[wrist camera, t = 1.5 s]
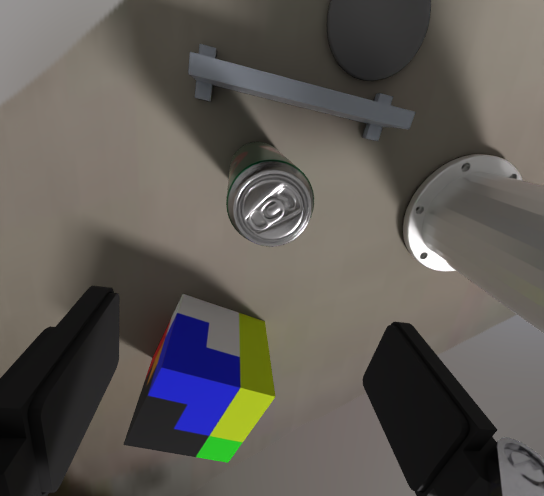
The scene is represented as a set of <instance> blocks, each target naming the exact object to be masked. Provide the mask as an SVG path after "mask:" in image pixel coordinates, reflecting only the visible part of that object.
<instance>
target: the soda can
mask: <svg viewBox="0 0 544 496" xmlns="http://www.w3.org/2000/svg"><path fill="white" fill-rule="evenodd" d="M226 205H227V212H228V216H229V219H230V221H231V223H232V225H233V226H234V228H235V229H236V230H237V231H238V232H239V234H241V235H242V236H243V237H244V238H246V239H248V240H250V241H252V242H254V243H256V244H259V245H262V246H270V247H273V246H280V245H284V244H287V243H289V242H291V241H293V240H294V239H296V238H297V237H298V236H299V235H300V234H301V233H302V232H303V231H304V229H305V228H306V227H307V225H308V223H309V220H310V218H311V215H312V212H313V207H314V195H313V190H312V187H311V184H310V182H309V180H308V179H307V177H306V176H305V174H304V173H303V172H302V171H301V170H300V169H299V168H297V167H296V166H295V165H294V164H293V163H292V162H291V161H289V160H288V159H287V158H286V157H285V156H284V155H283V154H282V153H280V152H279V151H278V150H277V149H276V148H275V147H273V146H272V145H270V144H267V143H264V142H252V143H248V144H246V145H244V146H242V147H241V148H240V149H239V150H238V151H237V152H236V153H235V154H234V156H233V158H232V160H231V163H230V170H229V180H228V191H227V204H226Z"/></svg>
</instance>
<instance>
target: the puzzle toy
mask: <svg viewBox="0 0 544 496" xmlns="http://www.w3.org/2000/svg"><path fill="white" fill-rule="evenodd" d="M274 398H275V391H274V383H273V376H272V369H271V362H270V355H269V348H268V341H267V334H266V327H265V321H262V320H259V319H256V318H253V317H250V316H247V315H244V314H241V313H238V312H235V311H232V310H229V309H226V308H224V307H221V306H218V305H215V304H212V303H209V302H206V301H203V300H200V299H197V298H194V297H191V296H188V295H185V294H182V296H181V298H180V300H179V303H178V305H177V307H176V309H175V311H174V313H173V315H172V318H171V320H170V322H169V324H168V326H167V328H166V330H165V333H164V335H163V337H162V339H161V341H160V343H159V345H158V347H157V350H156V352H155V354H154V356H153V358H152V361H151V364H150V367H149V370H148V373H147V376H146V379H145V382H144V385H143V388H142V391H141V394H140V397H139V400H138V403H137V406H136V409H135V412H134V415H133V418H132V421H131V424H130V427H129V430H128V433H127V436H126V439H125V442H124V445H128V446H134V447H140V448H146V449H152V450H157V451H163V452H169V453H175V454H181V455H187V456H193V457H198V458H204V459H210V460H216V461H222V462H229V460H230V459H231V458H232V456H233V455H234V454H235V452H236V451H237V449H238V448H239V447H240V445H241V444H242V442H243V441H244V440H245V438H246V437H247V435H248V434H249V433H250V431H251V430H252V429H253V427H254V426H255V424H256V423H257V422H258V420H259V419H260V417H261V416H262V415H263V413H264V412H265V410H266V409H267V408H268V406H269V405H270V404H271V402H272V401H273V399H274Z"/></svg>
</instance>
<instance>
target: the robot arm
mask: <svg viewBox="0 0 544 496" xmlns="http://www.w3.org/2000/svg"><path fill="white" fill-rule="evenodd" d="M403 236H404V241H405V244H406V247H407V249H408V251H409V252H410V254H411V255H412V256H413V257H414V258H415V259H416V260H417V261H418V262H420V263H421V264H423V265H424V266H426V267H428V268H430V269H433V270H438V271H455V270H456V271H457V272H459V273H460V274H462V275H463V276H464V277H466V278H467V279H468V280H470V281H471V282H473V283H474V284H475V285H477V286H478V287H480V288H481V289H482V290H484V291H485V292H487V293H488V294H489V295H491V296H492V297H494V298H495V299H496V300H498V301H499V302H501V303H502V304H503V305H505V306H506V307H507V308H509V309H510V310H512V311H513V312H514V313H516V314H517V315H519V316H520V317H521V318H523V319H524V320H526V321H527V322H528V323H530V324H531V325H533V326H534V327H535V328H537V329H538V330H540V331H541V332H543V333H544V186H543V185H538V184H534V183H530V182H526V181H523V180H522V177H521V174H520V173H519V171H518V170H517V169H516V167H515V166H514V165H513V164H511V163H510V162H509V161H507V160H505V159H503V158H500V157H497V156H492V155H486V154H473V155H468V156H463V157H460V158H457V159H455V160H452V161H450V162H448V163H447V164H445V165H443V166H442V167H440V168H438V169H437V170H436V171H435V172H433V173H432V174H431V175H430V176H429V177H428V178H427V179H426V180H425V181H424V182H423V183H422V184H421V185H420V186H419V188H418V189H417V191H416V192H415V194H414V195H413V197H412V199H411V201H410V203H409V205H408V207H407V210H406V213H405V217H404V223H403ZM118 361H119V294H118V293H114V291H113V289H112V288H107V287H99V286H91V287H90V288H89V289H88V290H87V291H86V292H85V293H84V294H83V296H82V297H81V298H80V299H79V300H78V301H77V303H76V304H75V305H74V306H73V307H72V308H71V310H70V311H69V312H68V313H67V314H66V315H65V317H64V318H63V319H62V320H61V321H60V322H59V324H58V325H57V326H56V327H48V328H46V329H45V330H44V331H43V332H42V333H41V334H40V335H39V336H38V337H37V338H36V339H35V340H34V342H33V343H32V344H31V345H30V346H29V347H28V348H27V349H26V350H25V352H24V353H23V354H22V355H21V356H20V357H19V358H18V359H17V360H16V362H15V363H14V364H13V365H12V366H11V367H10V368H9V369H8V370H7V372H6V373H5V374H4V375H3V376H2V377H1V378H0V496H47V495H48V493H49V492H56V491H57V489H58V488H59V486H60V484H61V482H62V480H63V478H64V476H65V474H66V472H67V470H68V468H69V466H70V464H71V462H72V460H73V458H74V455H75V453H76V451H77V449H78V447H79V445H80V443H81V441H82V439H83V437H84V435H85V433H86V430H87V428H88V426H89V424H90V422H91V420H92V418H93V416H94V414H95V412H96V410H97V408H98V405H99V403H100V401H101V399H102V397H103V395H104V393H105V391H106V389H107V387H108V385H109V383H110V381H111V378H112V376H113V374H114V372H115V370H116V368H117V365H118ZM363 386H364V388H365V390H366V393H367V395H368V397H369V399H370V401H371V404H372V406H373V408H374V410H375V412H376V415H377V417H378V419H379V421H380V423H381V426H382V428H383V430H384V432H385V434H386V437H387V439H388V441H389V443H390V445H391V448H392V449H393V452H394V454H395V456H396V458H397V460H398V463H399V465H400V467H401V469H402V472H403V474H404V476H405V478H406V481H407V483H408V485H409V486H410V488H411V489H412V490H413V491H415V493H416V495H417V496H544V458H542V457H541V456H540V455H539V454H538V453H537V452H535V451H534V450H533V449H531V448H530V447H528V446H527V445H525V444H524V443H522V442H519V441H517V440H515V439H512V438H508V437H505V438H501V439H499V440H498V441H497V442H496V441H495V440H494V439H493V437H492V436H493V435H494V433H495V432H496V431H497V429H496V428H495V426H494V425H493V424H492V423H491V421H490V420H489V419H488V418H487V417H486V415H485V414H484V413H483V411H482V410H481V409H480V408H479V407H478V405H477V404H476V403H475V402H474V401H473V399H472V398H471V397H470V396H469V394H468V393H467V392H466V391H465V389H464V388H463V387H462V386H461V384H460V383H459V382H458V381H457V380H456V378H455V377H454V376H453V375H452V373H451V372H450V371H449V370H448V369H447V367H446V366H445V365H444V364H443V362H442V361H441V360H440V359H439V357H438V356H437V355H436V354H435V353H434V351H433V350H432V349H431V348H430V346H429V345H428V344H427V343H426V342H425V340H424V339H423V338H422V337H421V335H420V334H419V333H418V332H417V330H416V329H415V328H414V327H413V326H412V325H411V324H409V323H401V322H393V323H392V324H391V325H389V326H388V327H387V328H386V330H385V332H384V334H383V336H382V339H381V341H380V343H379V345H378V347H377V349H376V351H375V353H374V355H373V357H372V359H371V361H370V364H369V366H368V368H367V370H366V372H365V374H364V376H363Z"/></svg>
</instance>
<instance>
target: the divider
mask: <svg viewBox="0 0 544 496" xmlns="http://www.w3.org/2000/svg"><path fill="white" fill-rule="evenodd" d="M216 52H217V49H216V48H214V47H210V46H207V45H203V44H200V45H199V54H196V53H193V52H190V59H189V71H188V74H189V75H190V76H192V77H193V78H194V79H195V80H196V89H195V98H198V99H202V100H206V101H210V102H211V97H212V88H213V85H214V86H218V87H222V88H226V89H230V90H234V91H238V92H242V93H246V94H250V95H254V96H258V97H262V98H266V99H270V100H274V101H278V102H282V103H286V104H290V105H294V106H298V107H302V108H306V109H310V110H314V111H319V112H323V113H327V114H331V115H335V116H339V117H343V118H347V119H351V120H355V121H359V122H363V123H367V124H366V127H365V130H364V134H363V137H362V138H366V139H370V140H375V141H378V140H379V137H380V134H381V131H382V128H383V127H389V128H399V129H409V128H410V126H411V123H412V121H413V118H414V115H415V113H416V112H414V111H410V110H406V109H402V108H399V107H395V106H391V102H392V99H393V96H389V95H385V94H382V93H378V94H376V96H375V99H374V101H372V100H369V99H365V98H361V97H357V96H354V95H350V94H346V93H342V92H339V91H335V90H331V89H327V88H324V87H320V86H316V85H313V84H309V83H305V82H301V81H298V80H294V79H290V78H286V77H283V76H279V75H275V74H271V73H268V72H264V71H260V70H256V69H253V68H249V67H245V66H241V65H238V64H234V63H230V62H226V61H223V60H219V59H216Z"/></svg>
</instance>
